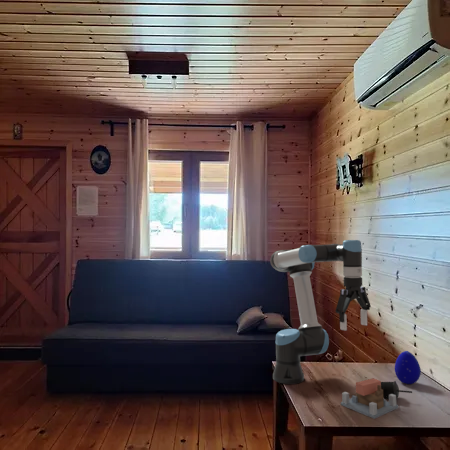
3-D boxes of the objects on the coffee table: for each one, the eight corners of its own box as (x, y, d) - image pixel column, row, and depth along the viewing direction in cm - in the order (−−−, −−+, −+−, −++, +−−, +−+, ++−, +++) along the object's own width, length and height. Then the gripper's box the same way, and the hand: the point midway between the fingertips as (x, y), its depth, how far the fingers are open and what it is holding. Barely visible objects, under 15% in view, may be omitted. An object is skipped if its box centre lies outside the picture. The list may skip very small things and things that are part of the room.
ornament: (422, 383, 192) (421, 350, 192) (417, 389, 185) (416, 355, 185) (398, 377, 199) (397, 347, 199) (392, 383, 192) (391, 351, 192)
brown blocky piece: (383, 406, 165) (383, 384, 165) (378, 409, 162) (377, 387, 163) (361, 399, 173) (361, 378, 173) (356, 401, 170) (355, 380, 170)
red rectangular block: (363, 395, 164) (363, 385, 164) (356, 392, 167) (355, 382, 167) (381, 390, 168) (380, 381, 168) (373, 387, 172) (373, 378, 172)
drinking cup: (363, 400, 180) (413, 406, 170) (360, 389, 177) (410, 394, 167) (365, 386, 186) (413, 390, 176) (362, 374, 183) (410, 378, 173)
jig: (340, 404, 170) (340, 392, 170) (364, 395, 179) (364, 383, 179) (374, 418, 157) (374, 405, 157) (398, 407, 166) (397, 395, 166)
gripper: (340, 279, 161) (341, 333, 161) (378, 275, 176) (379, 324, 175) (325, 278, 167) (327, 330, 167) (363, 273, 182) (364, 321, 181)
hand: (354, 327), depth 171 cm, fingers open, 13 cm apart
